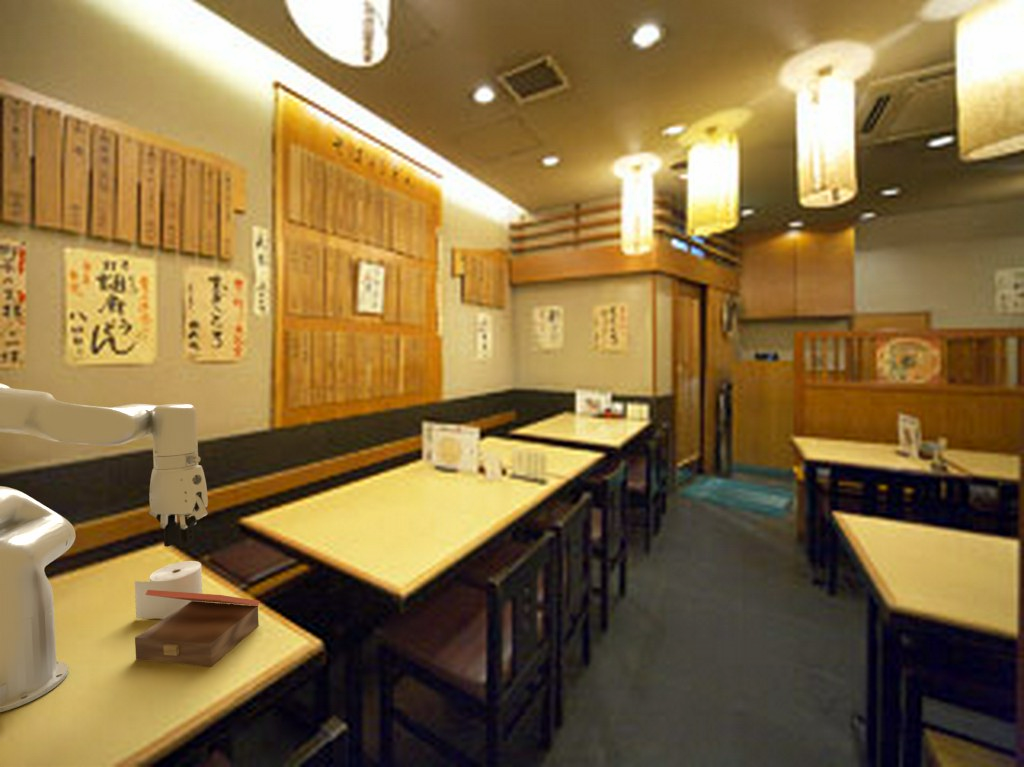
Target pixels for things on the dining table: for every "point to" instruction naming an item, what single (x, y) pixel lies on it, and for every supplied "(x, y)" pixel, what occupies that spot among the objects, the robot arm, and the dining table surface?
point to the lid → (202, 597)
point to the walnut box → (197, 633)
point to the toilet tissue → (167, 589)
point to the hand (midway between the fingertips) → (179, 543)
